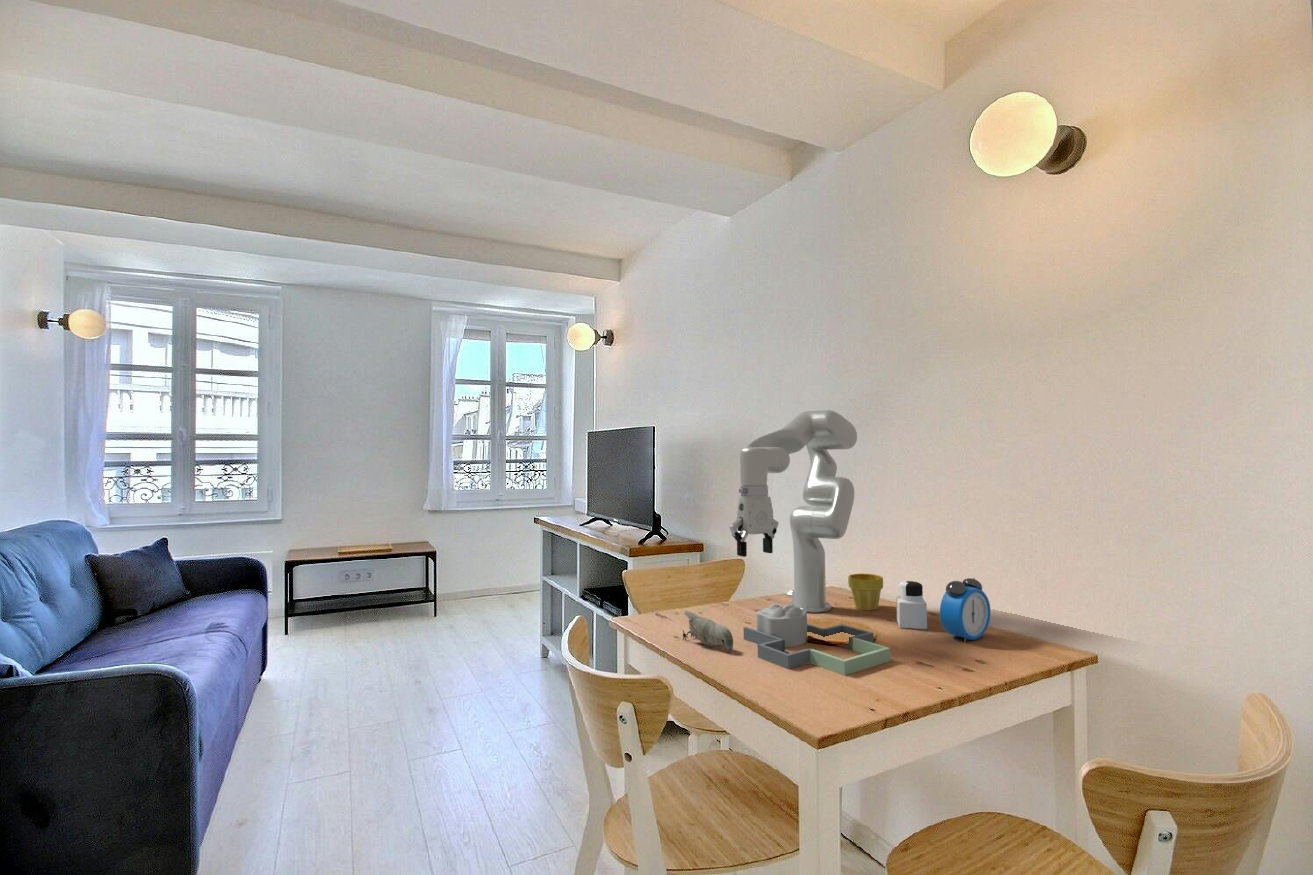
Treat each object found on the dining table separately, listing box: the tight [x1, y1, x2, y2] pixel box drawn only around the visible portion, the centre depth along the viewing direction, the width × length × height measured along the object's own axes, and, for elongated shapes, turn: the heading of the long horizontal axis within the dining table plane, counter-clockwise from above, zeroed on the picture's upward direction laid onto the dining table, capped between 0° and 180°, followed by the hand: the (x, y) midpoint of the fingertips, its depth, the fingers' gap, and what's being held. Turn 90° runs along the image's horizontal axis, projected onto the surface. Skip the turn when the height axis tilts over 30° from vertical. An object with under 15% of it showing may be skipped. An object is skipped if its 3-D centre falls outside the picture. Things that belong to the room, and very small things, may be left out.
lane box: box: [743, 623, 892, 676], centre depth 154 cm, size 33×30×3 cm
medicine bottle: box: [895, 580, 928, 630], centre depth 174 cm, size 7×7×12 cm
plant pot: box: [847, 572, 884, 611], centre depth 194 cm, size 10×10×10 cm
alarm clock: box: [939, 577, 991, 643], centre depth 162 cm, size 13×6×15 cm, turn 120°
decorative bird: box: [681, 610, 734, 654], centre depth 159 cm, size 5×16×7 cm, turn 40°
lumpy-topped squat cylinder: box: [756, 603, 808, 648], centre depth 162 cm, size 10×13×9 cm
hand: (755, 554), depth 172 cm, fingers open, 9 cm apart
